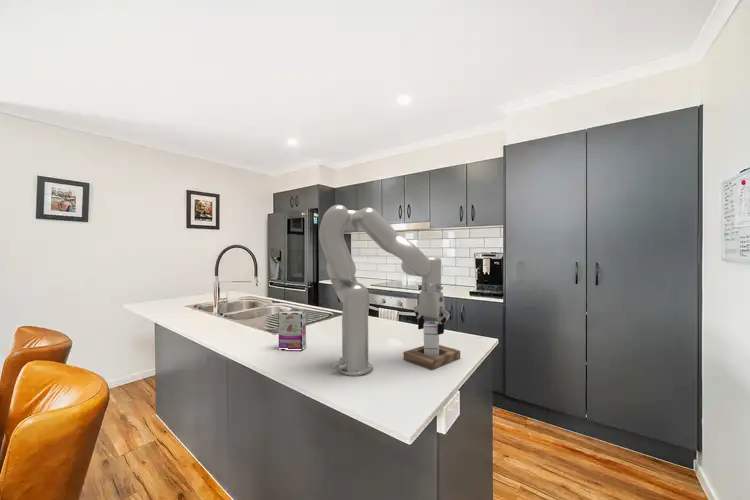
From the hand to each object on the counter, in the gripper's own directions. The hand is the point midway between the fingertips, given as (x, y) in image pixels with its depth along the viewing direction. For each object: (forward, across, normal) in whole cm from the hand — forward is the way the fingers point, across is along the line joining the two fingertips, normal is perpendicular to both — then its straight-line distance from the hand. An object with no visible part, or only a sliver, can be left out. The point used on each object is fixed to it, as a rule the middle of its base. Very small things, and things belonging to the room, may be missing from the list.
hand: (430, 331), depth 118 cm
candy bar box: (+13, +49, +35) cm, 61 cm away
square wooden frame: (+11, 0, -1) cm, 11 cm away
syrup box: (+11, 0, -1) cm, 11 cm away
